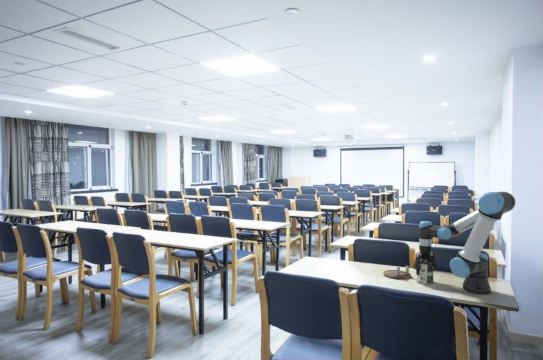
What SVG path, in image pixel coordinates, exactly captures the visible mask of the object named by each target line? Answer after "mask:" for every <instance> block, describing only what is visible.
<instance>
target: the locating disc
mask: <svg viewBox="0 0 543 360" xmlns="http://www.w3.org/2000/svg"><path fill="white" fill-rule="evenodd" d="M382 274H383V276H384V277H386V278H389V279H393V280H400V281H401V280H402V281H403V280H408V279H409V280H410V279H411V277H412V274H411V273H410V266H409V265H405V270H401V267H400V266H397V267H396V269H387V270H384V271H383V273H382Z"/></svg>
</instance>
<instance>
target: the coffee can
mask: <svg viewBox="0 0 543 360" xmlns="http://www.w3.org/2000/svg"><path fill="white" fill-rule="evenodd" d="M419 264H421V268H420V270H421V280H417V279H416V283H418V284H420V285H426V286H427V285H429V286H430V285H434V273H433V270H434V261H428V260H427V259H426V260H425V261H423V262H419Z"/></svg>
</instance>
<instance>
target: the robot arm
mask: <svg viewBox="0 0 543 360" xmlns="http://www.w3.org/2000/svg"><path fill="white" fill-rule="evenodd" d="M477 206H478V209H476V210H474V211H473V212H471V213H469V214H466V215H465V216H463V217H462V218H460V219H457V220H456V221H454V222H453V223H450V224H448V225H433V223H432V221H427V220H423V221H420V222H419V227H418V229H419V230H418V231H419V233H418V234H419V238H418V239H419V240H418V241H419V243H418V244H419V245H418V250H419V253H416V254H415V260H414V265H413V269H414V270H415V271H416V272H415V274H416V281H417V280H421V270H420V268H421V264H419V262H423V261H425V260H428V261H434V269H436V267H437V262H436V258H435V252H432V250H433V248H432V247H433V246H432V245H433V244H432V243H433V238H434V239H440V240H450V238H452V237H458V236H460V235H461V234H462V233H463V232H465V231H468V230H469V229H471V228H472V229H471V232H470V234H469V236H468V238H467V240H466V242H465V244H464V246H463V249H460V250H459V251H458V252H457V253H456V255H455V256H456V257H453V258H452V259H451V260H450V261H449V269H450V270H451V272H452V274H453V275H454V276H456V277H458V278H464V280H463V283H462V289H463V291H465V292H469V293H471V292H472V294H476V295H477V294H478V295H489V294H491V293H492V288H491V285H490V282H489V256H488V254H486V253H484V252H482V251H483V247H484V246H485V245H486V242H487V241H488V238H489V236H490V234H491V233H492V230H493V227H494V226H495V224H496V222H497V221H501V219H502V218H503V215H504V214H506V213H509V212H510V211H512V210H513V209H514V208H515V206H516V199H515V196H513V194H511V193H510V192H507V191H490V192H485V193H484V194H482V195H481V196H480V197H479V199H478V203H477ZM433 274H434V270H433ZM488 293H489V294H488Z"/></svg>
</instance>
